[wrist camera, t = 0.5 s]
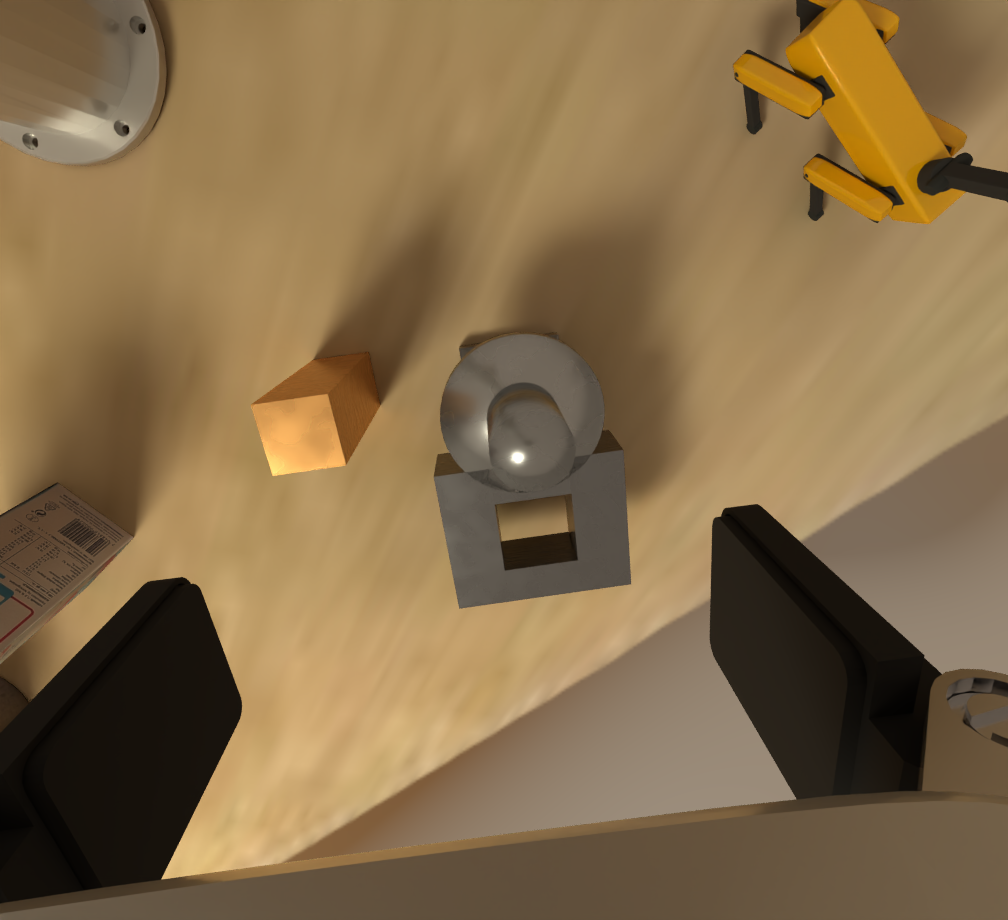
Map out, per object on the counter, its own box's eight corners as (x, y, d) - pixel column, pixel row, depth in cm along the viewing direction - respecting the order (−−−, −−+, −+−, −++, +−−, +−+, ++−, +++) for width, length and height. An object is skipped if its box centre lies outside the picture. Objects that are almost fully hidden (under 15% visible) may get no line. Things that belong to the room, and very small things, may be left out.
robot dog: (854, 295, 40) (1025, 317, 28) (704, 85, 35) (831, -3, 23) (923, 234, 39) (1135, 230, 27) (778, 8, 34) (956, -131, 21)
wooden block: (326, 413, 41) (272, 475, 30) (313, 359, 40) (250, 404, 29) (380, 405, 41) (345, 465, 30) (368, 351, 40) (327, 393, 29)
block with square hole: (461, 549, 46) (457, 670, 33) (421, 329, 40) (395, 372, 26) (605, 529, 46) (657, 641, 33) (589, 306, 40) (645, 336, 26)
